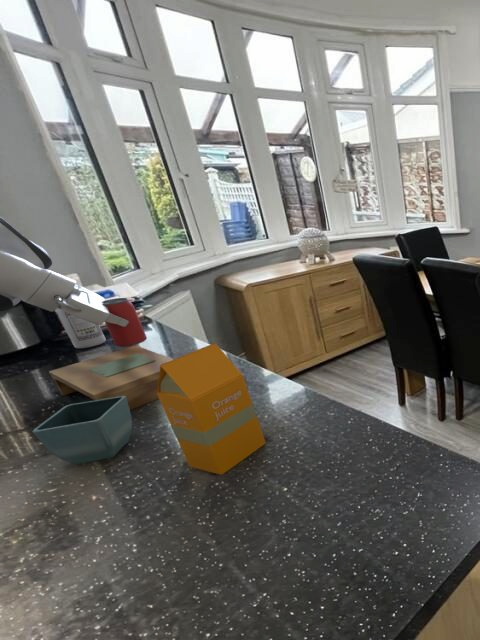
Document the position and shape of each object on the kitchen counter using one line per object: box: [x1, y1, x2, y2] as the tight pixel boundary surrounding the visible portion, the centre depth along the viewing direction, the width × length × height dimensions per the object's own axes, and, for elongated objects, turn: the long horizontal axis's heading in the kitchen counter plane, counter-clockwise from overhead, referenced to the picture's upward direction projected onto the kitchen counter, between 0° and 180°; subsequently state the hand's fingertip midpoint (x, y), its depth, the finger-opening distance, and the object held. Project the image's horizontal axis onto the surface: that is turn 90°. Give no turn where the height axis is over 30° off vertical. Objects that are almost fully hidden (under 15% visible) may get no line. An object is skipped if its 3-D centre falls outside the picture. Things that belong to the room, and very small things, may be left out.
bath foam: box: [55, 308, 107, 349], centre depth 115 cm, size 7×7×20 cm
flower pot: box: [31, 396, 133, 465], centre depth 69 cm, size 9×9×9 cm
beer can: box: [101, 297, 147, 348], centre depth 105 cm, size 7×7×12 cm
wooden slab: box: [48, 345, 175, 411], centre depth 91 cm, size 16×24×6 cm, turn 62°
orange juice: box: [157, 342, 267, 476], centre depth 66 cm, size 8×9×20 cm
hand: (125, 320), depth 106 cm, fingers closed on beer can, 6 cm apart
